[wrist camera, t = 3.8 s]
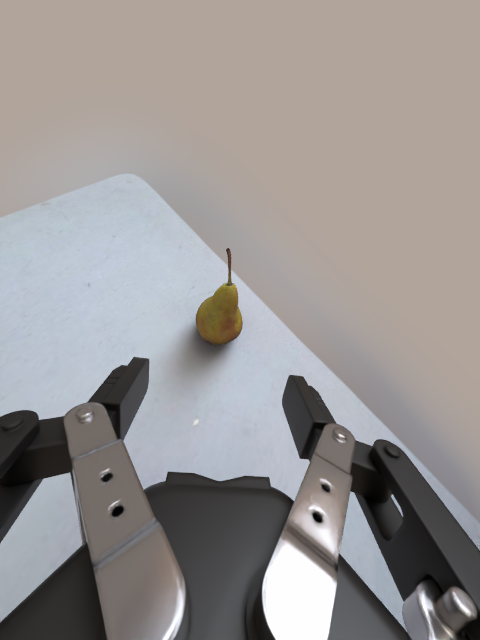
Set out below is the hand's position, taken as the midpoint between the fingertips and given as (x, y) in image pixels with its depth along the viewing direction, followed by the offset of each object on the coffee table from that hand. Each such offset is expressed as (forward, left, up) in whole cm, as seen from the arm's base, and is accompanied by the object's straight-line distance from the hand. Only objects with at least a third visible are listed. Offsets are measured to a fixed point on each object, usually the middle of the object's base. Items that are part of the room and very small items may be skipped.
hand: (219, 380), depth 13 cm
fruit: (+1, -8, -14) cm, 16 cm away
